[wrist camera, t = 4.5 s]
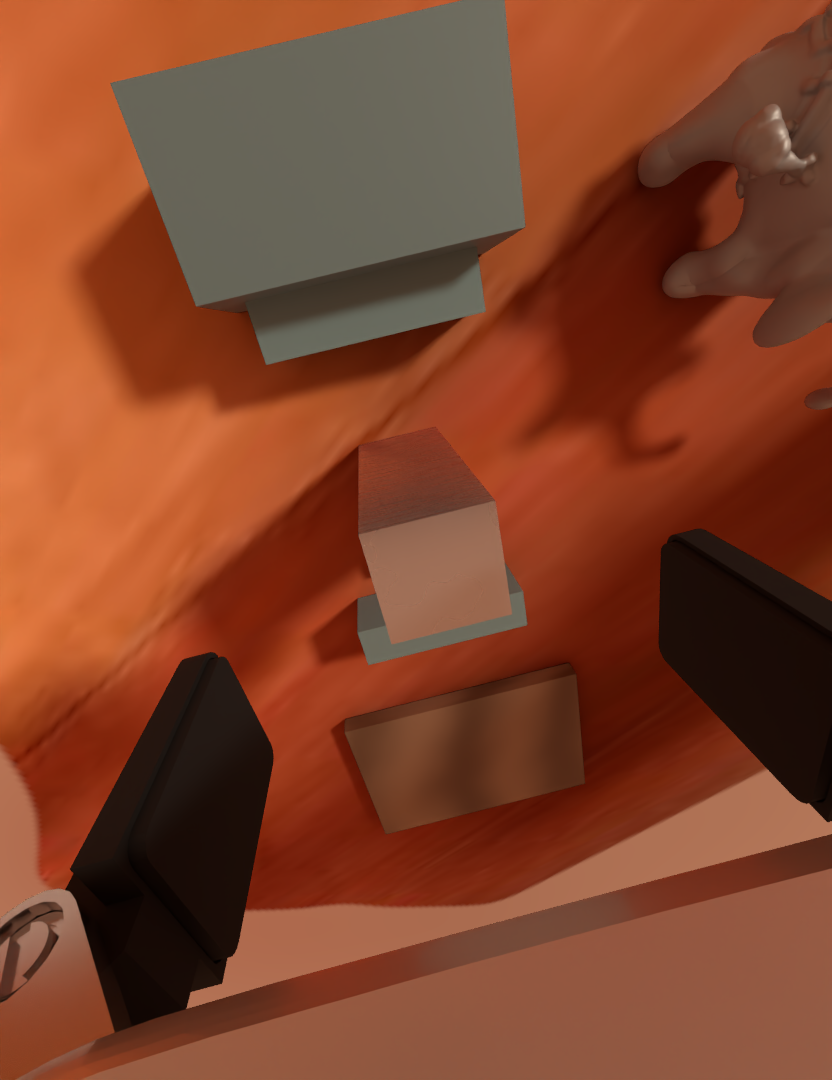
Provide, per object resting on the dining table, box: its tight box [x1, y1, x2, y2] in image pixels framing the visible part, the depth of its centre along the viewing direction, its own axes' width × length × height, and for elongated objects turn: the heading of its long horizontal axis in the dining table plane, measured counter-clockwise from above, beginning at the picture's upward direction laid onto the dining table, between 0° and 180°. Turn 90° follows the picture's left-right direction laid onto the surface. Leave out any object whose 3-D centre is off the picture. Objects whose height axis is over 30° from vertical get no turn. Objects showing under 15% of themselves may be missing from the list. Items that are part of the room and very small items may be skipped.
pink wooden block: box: [358, 427, 512, 644], centre depth 17 cm, size 4×6×10 cm, turn 12°
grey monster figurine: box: [638, 2, 832, 410], centre depth 16 cm, size 9×12×8 cm
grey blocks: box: [110, 0, 527, 665], centre depth 18 cm, size 10×21×5 cm, turn 12°
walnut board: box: [344, 663, 585, 834], centre depth 29 cm, size 14×10×1 cm
